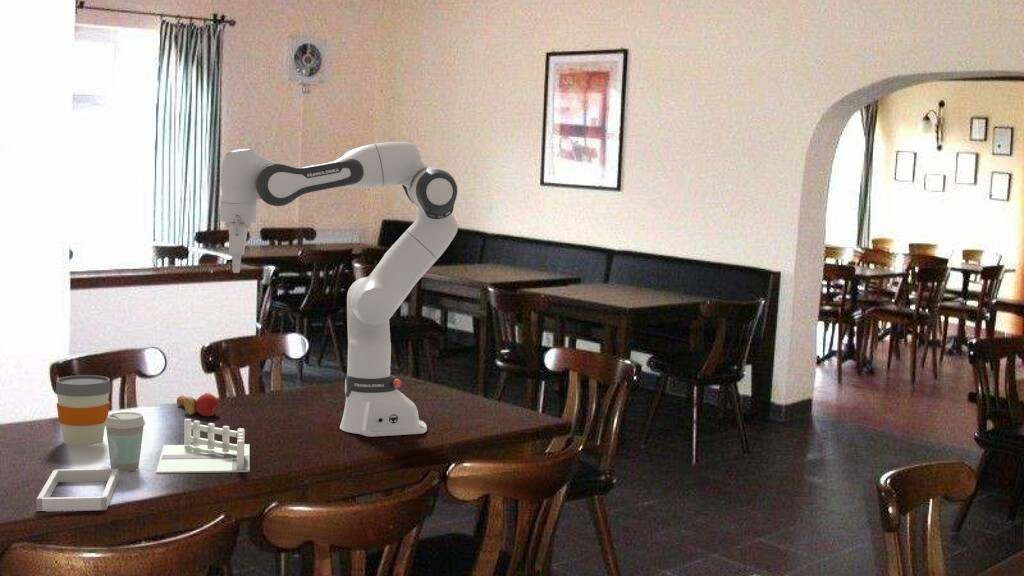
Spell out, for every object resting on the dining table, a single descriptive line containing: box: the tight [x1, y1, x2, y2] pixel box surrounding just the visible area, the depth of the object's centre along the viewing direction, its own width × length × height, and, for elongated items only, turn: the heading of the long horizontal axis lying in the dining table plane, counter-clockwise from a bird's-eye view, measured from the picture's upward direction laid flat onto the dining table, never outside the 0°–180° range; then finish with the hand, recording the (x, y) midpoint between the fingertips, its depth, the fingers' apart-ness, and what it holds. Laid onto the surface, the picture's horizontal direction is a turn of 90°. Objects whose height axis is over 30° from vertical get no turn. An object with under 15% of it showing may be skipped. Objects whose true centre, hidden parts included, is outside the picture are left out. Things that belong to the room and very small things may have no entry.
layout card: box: [155, 443, 250, 475], centre depth 281 cm, size 20×24×1 cm
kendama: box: [176, 392, 220, 417], centre depth 329 cm, size 8×6×18 cm
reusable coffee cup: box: [55, 374, 112, 447], centre depth 292 cm, size 13×13×15 cm
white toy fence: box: [183, 418, 246, 452], centre depth 286 cm, size 18×2×6 cm, turn 62°
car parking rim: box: [35, 468, 119, 512], centre depth 249 cm, size 13×22×2 cm, turn 12°
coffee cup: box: [105, 411, 146, 473], centre depth 269 cm, size 8×8×12 cm
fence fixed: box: [236, 429, 246, 470], centre depth 276 cm, size 11×2×6 cm, turn 12°
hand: (236, 270), depth 302 cm, fingers open, 8 cm apart
